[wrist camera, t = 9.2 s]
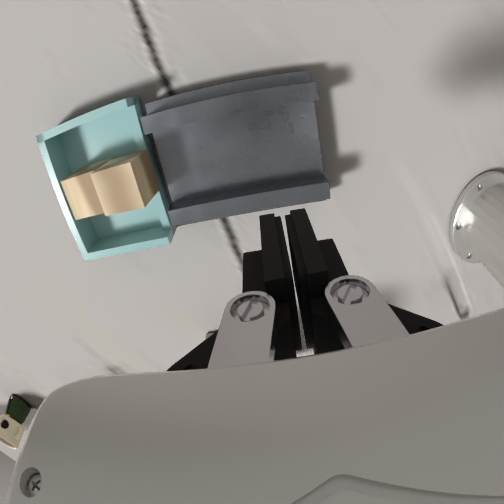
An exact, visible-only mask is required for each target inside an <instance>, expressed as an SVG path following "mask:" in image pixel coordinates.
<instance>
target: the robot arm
mask: <svg viewBox="0 0 504 504" xmlns="http://www.w3.org/2000/svg"><path fill="white" fill-rule="evenodd" d="M259 217H260V231H261V245H262V250H259V251H253V252H246V253H244V254H243V292H242V294H239V295H237V296H236V297H234V298H232V299H231V300H230V301H229V302H228V303H227V305H226V307H225V310H224V313H223V317H222V320H221V323H220V327H219V330H217V331H216V332H215V333H214V334H212V335H211V336H210V337H208V338H207V339H206V340H205V341H203V342H202V343H201V344H199V345H198V346H197V347H196V348H194V349H193V350H192V351H190V352H189V353H188V354H187V355H185V356H184V357H183V358H181V359H180V360H179V361H178V362H176V363H175V364H174V365H172V366H171V367H170V368H169V369H168V370H167V371H165V372H145V373H129V374H110V375H102V376H94V377H90V378H85V379H80V380H77V381H74V382H72V383H69V384H66V385H64V386H62V387H59V388H58V389H56V390H54V391H52V392H51V393H50V394H49V395H48V396H47V397H46V398H45V400H44V401H43V402H42V404H41V405H40V407H39V408H38V410H37V412H36V414H35V416H34V418H33V420H32V422H31V424H30V426H29V428H28V431H27V433H26V436H25V438H24V441H23V444H22V446H21V449H20V452H19V455H18V458H17V461H16V464H15V467H14V471H13V475H12V478H11V482H10V486H9V490H8V494H7V499H6V503H5V504H504V308H502V309H498V310H495V311H492V312H488V313H485V314H481V315H478V316H474V317H471V318H467V319H464V320H461V321H458V322H454V323H451V324H447V325H442V324H440V323H438V322H436V321H433V320H431V319H428V318H425V317H423V316H420V315H417V314H414V313H412V312H409V311H406V310H403V309H401V308H398V307H395V306H393V305H390V304H387V302H386V301H385V300H384V298H383V297H382V296H381V294H380V293H379V292H378V290H377V289H376V288H375V286H374V285H373V284H372V283H371V282H370V281H369V280H367V279H365V278H363V277H360V276H355V275H348V272H347V270H346V268H345V266H344V263H343V261H342V259H341V256H340V254H339V252H338V250H337V248H336V245H335V243H334V241H333V239H326V240H320V241H317V239H316V236H315V234H314V231H313V228H312V226H311V223H310V220H309V218H308V215H307V213H306V210H305V208H303V209H297V210H291V211H290V215H285V219H286V226H287V233H288V239H289V246H290V253H291V260H292V268H293V275H294V281H295V287H296V292H297V297H298V302H299V308H300V313H301V318H302V324H303V329H304V335H305V340H306V346H307V349H308V348H313V350H314V355H309V356H303V357H296V350H302V345H301V337H300V329H299V321H298V313H297V305H296V297H295V290H294V283H293V276H292V271H291V266H290V261H289V256H288V251H287V246H286V241H285V236H284V231H283V226H282V221H281V217H280V216H278V217H274V213H273V214H267V215H261V216H259ZM450 240H451V244H452V247H453V249H454V250H455V252H456V253H457V254H458V255H459V256H460V257H461V258H462V259H463V260H465V261H466V262H470V263H480V262H481V263H482V264H483V265H484V266H485V267H486V268H487V270H488V271H489V272H490V273H491V274H492V275H493V276H494V277H495V279H496V280H497V281H498V282H499V283H500V284H501V286H502V287H503V288H504V173H502V172H498V171H489V172H486V173H483V174H481V175H479V176H478V177H476V178H475V179H474V180H473V181H471V182H470V183H469V184H468V186H467V187H466V188H465V189H464V190H463V192H462V193H461V195H460V197H459V198H458V200H457V202H456V205H455V207H454V209H453V213H452V216H451V221H450Z"/></svg>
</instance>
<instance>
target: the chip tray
mask: <svg viewBox="0 0 504 504" xmlns="http://www.w3.org/2000/svg"><path fill="white" fill-rule="evenodd" d="M143 116H144V114H143V110H142V106H141V102H140V98H139V95H137V96H133V97H129V98H125V99H122V100H119V101H117V102H114V103H111V104H108V105H106V106H103V107H101V108H98V109H95V110H93V111H90V112H88V113H86V114H83V115H81V116H78V117H76V118H74V119H71V120H69V121H67V122H65V123H62V124H60V125H58V126H56V127H54V128H52V129H50V130H48V131H45V132H43V133H41V134H39V135H37V136H36V137H37V141H38V144H39V147H40V150H41V153H42V156H43V159H44V162H45V165H46V168H47V171H48V174H49V177H50V179H51V182H52V185H53V188H54V190H55V193H56V195H57V198H58V201H59V203H60V206H61V208H62V211H63V213H64V215H65V218H66V220H67V222H68V225H69V227H70V229H71V232H72V234H73V236H74V238H75V241H76V243H77V245H78V247H79V249H80V251H81V254H82V256H83V258H84V260H85V261H87V260H92V259H97V258H102V257H107V256H112V255H117V254H122V253H127V252H132V251H138V250H143V249H148V248H153V247H159V246H164V245H169V244H170V243H171V241H172V238H173V236H174V233H175V231H176V228H177V226H172V223H171V220H170V217H169V214H168V210H169V208H170V204H169V201H168V198H167V195H166V191H165V188H164V185H163V181H162V178H161V175H160V171H159V168H158V165H157V161H156V158H155V154H154V151H153V147H152V143H151V140H150V136H149V134H146V135H145V134H144V130H143V126H142V123H141V119H140V118H141V117H143ZM146 149H148V152H149V155H150V159H151V162H152V166H153V169H154V172H155V176H156V179H157V182H158V186H159V189H160V190H159V191H158V192H157V194H156V195H155V196H154V197H153V198H152V200H151V201H150V202H149V203H148V204H147V206H146V207H145V208H141V209H136V210H132V211H127V212H122V213H118V214H113V215H109V216H105V213H103V214H99V215H95V216H90V217H86V218H82V219H78V220H75V217H74V215H73V212H72V210H71V207H70V205H69V202H68V200H67V197H66V195H65V192H64V189H63V187H62V184H61V181H62V180H64V179H65V178H67V177H68V176H70V175H71V174H73V173H74V172H76V171H77V170H79V169H80V168H82V167H84V166H87V165H90V164H93V163H97V162H100V161H103V160H106V159H109V158H113V157H114V159H115V158H118V157H121V156H125V155H128V154H132V153H135V152H139V151H143V150H146Z"/></svg>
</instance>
